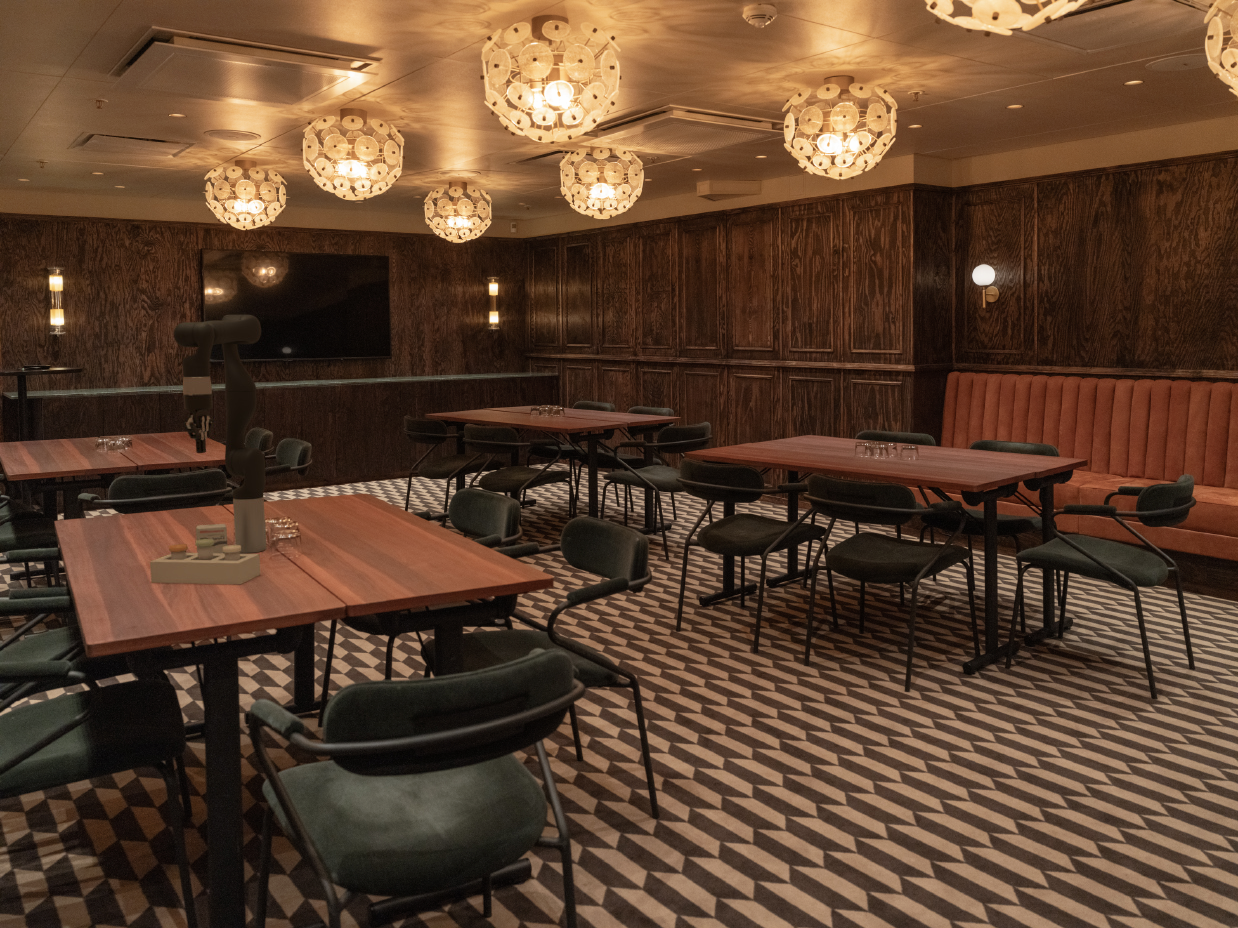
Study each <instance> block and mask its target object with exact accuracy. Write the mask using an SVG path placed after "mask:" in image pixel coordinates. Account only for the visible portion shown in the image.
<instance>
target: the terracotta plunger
mask: <svg viewBox="0 0 1238 928" xmlns="http://www.w3.org/2000/svg"><path fill="white" fill-rule="evenodd" d="M188 546H189V545H188V544H186V543H176V544H171V545H169V546H168V551H169V552H170V554H171V560H184V559H186V558H187V555H186V553H187V550H189V548H188Z"/></svg>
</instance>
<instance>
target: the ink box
mask: <svg viewBox="0 0 1238 928" xmlns="http://www.w3.org/2000/svg"><path fill="white" fill-rule="evenodd" d="M227 531H228V530H227V524H226V523H218V524H217V523H216V524H215V523H214V524H200V525H199V524H198V525H197V526H195V537H196V540H201V539H213V540H214V545H213V553H224V552H223V547H224V546H228V533H227ZM196 540H195V541H196ZM196 553H198V552H197V551H196Z"/></svg>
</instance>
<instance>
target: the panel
mask: <svg viewBox="0 0 1238 928" xmlns="http://www.w3.org/2000/svg"><path fill="white" fill-rule="evenodd" d="M186 555H187V558H186V559H184V560H171V553H170V554H166V555H165V556H162V557H159V558H156V559H153V560H151V561H149V565H150V582H151V584H152V583H153V584H155V583H156V584H157V583H158V584H160V583H161V584H190V585H191V584H194V585H198V584H199V585H240V586H241V585H242V584H244V583H246V582H249V581H250V580H252V579H254V578H257V577H259V576H261V562H260V561H261V560H260V553H240V560H238V561H225V554H224V553H213V559H212V560H198V553H197V552H186Z"/></svg>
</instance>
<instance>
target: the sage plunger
mask: <svg viewBox="0 0 1238 928" xmlns="http://www.w3.org/2000/svg"><path fill="white" fill-rule="evenodd" d="M213 545H214V540H213V539H201V540H195V547H196V553H197V552H198V560H212V559H213Z"/></svg>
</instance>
